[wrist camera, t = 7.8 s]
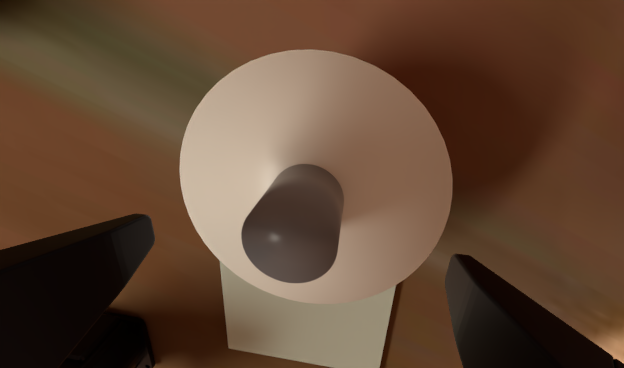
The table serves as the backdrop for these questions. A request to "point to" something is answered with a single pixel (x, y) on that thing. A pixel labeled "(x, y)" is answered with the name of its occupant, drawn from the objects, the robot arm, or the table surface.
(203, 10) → the table surface
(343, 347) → the mat
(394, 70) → the table surface
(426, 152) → the lid
